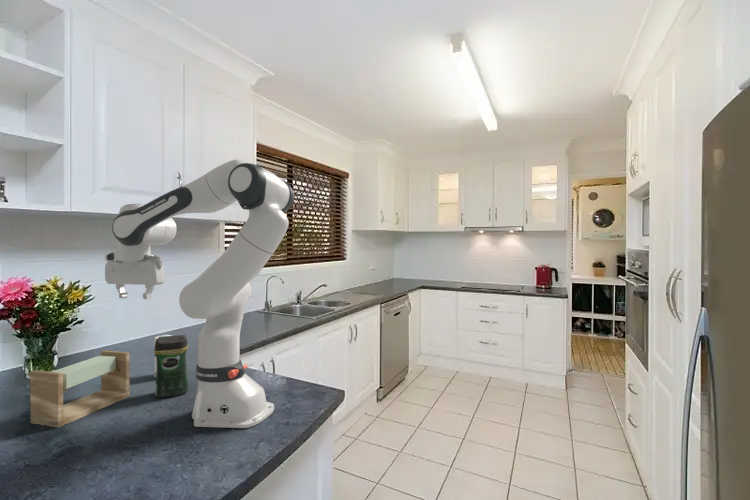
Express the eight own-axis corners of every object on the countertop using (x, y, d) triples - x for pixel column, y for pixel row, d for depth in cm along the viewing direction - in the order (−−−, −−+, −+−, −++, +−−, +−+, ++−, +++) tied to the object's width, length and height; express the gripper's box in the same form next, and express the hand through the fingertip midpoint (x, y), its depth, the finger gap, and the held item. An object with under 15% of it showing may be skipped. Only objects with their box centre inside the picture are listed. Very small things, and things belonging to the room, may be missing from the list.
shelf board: (98, 368, 117) (98, 355, 117) (115, 369, 116) (115, 356, 116) (47, 387, 101) (47, 373, 101) (66, 388, 100) (66, 374, 100)
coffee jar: (189, 386, 126) (189, 332, 125) (187, 395, 118) (187, 337, 118) (156, 391, 122) (156, 334, 121) (152, 400, 114) (152, 340, 114)
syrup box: (153, 376, 135) (152, 337, 135) (168, 371, 140) (168, 333, 140) (162, 379, 132) (162, 339, 132) (178, 374, 138) (178, 335, 137)
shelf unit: (105, 393, 120) (104, 350, 120) (129, 396, 117) (129, 352, 117) (30, 423, 100) (30, 371, 100) (58, 427, 97) (57, 374, 97)
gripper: (169, 255, 119) (169, 298, 119) (118, 255, 124) (119, 296, 124) (152, 255, 112) (153, 300, 113) (100, 255, 118) (100, 298, 118)
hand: (135, 298), depth 118 cm, fingers open, 8 cm apart
